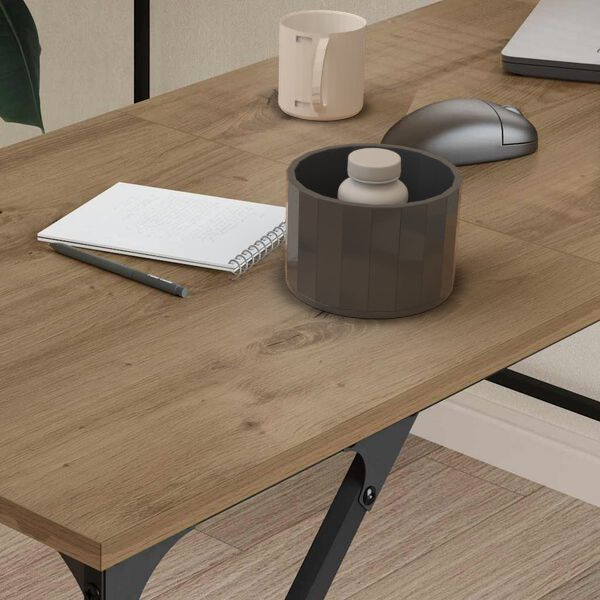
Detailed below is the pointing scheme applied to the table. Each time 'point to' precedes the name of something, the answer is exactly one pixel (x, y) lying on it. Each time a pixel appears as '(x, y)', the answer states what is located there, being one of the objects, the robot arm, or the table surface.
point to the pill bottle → (373, 178)
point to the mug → (321, 64)
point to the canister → (371, 236)
